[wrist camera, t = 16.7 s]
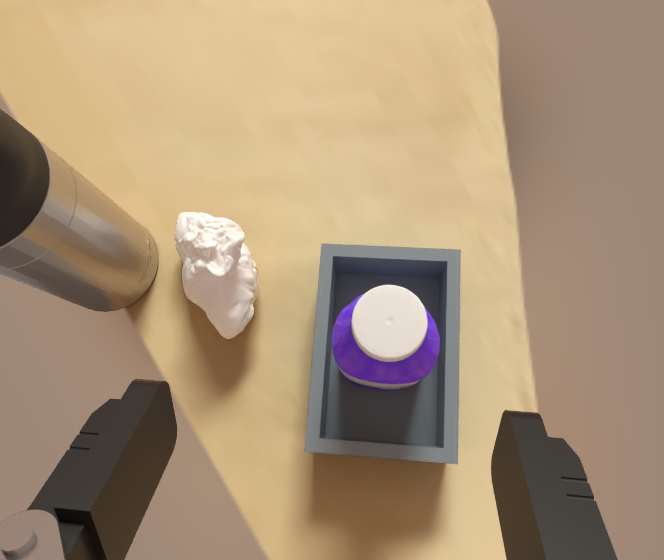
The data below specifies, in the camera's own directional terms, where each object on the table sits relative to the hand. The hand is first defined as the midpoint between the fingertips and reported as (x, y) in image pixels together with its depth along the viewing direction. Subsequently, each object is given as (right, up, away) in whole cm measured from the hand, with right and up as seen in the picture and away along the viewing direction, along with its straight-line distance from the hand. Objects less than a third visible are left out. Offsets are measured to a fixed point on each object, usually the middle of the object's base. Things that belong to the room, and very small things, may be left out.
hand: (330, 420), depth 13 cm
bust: (-9, +3, +36) cm, 38 cm away
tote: (+5, -3, +33) cm, 34 cm away
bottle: (+4, -3, +32) cm, 33 cm away
